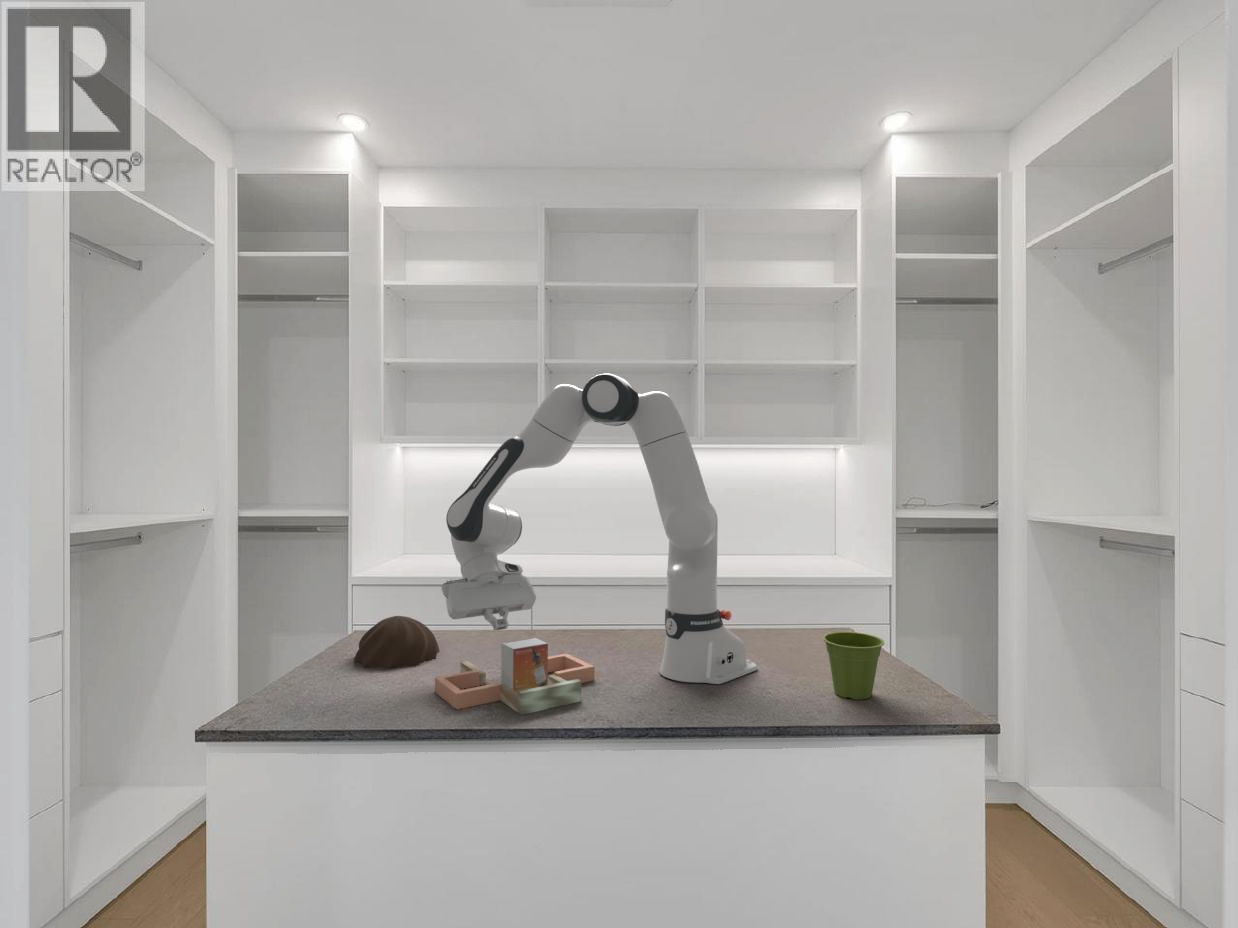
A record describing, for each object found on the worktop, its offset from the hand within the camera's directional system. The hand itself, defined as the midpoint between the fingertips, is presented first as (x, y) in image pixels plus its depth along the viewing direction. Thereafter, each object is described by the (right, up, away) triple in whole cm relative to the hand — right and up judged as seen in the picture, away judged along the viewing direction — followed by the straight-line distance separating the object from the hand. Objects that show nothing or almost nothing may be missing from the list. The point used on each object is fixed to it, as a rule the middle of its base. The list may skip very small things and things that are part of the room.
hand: (501, 628), depth 153 cm
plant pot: (+73, -11, -11) cm, 75 cm away
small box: (+6, -11, -11) cm, 17 cm away
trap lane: (+4, -11, -5) cm, 13 cm away
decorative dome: (-28, -11, +16) cm, 34 cm away
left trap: (-4, -11, -11) cm, 16 cm away
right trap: (+12, -11, 0) cm, 16 cm away
